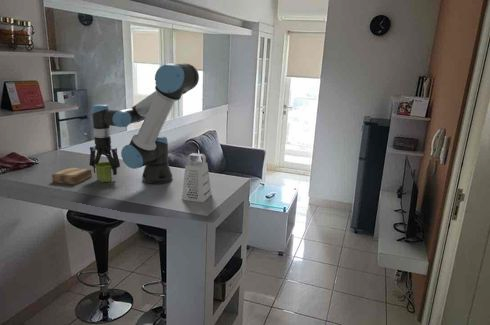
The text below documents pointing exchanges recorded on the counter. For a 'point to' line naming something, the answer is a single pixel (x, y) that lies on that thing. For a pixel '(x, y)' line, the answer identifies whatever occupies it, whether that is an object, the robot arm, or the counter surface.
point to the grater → (196, 179)
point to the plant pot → (104, 171)
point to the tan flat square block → (71, 175)
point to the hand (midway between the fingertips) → (106, 179)
